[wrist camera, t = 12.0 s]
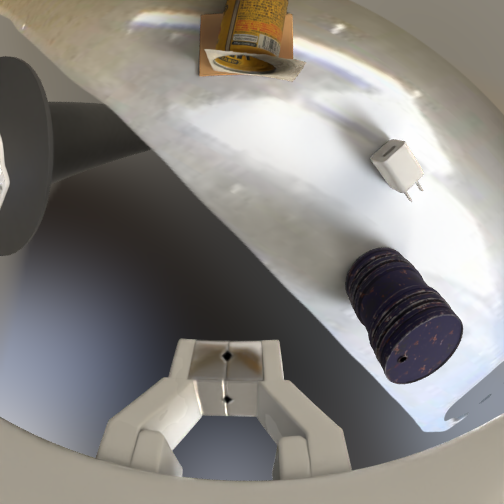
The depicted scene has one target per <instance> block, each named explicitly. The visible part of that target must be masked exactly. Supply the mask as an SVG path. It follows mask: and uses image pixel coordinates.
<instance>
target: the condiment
mask: <svg viewBox="0 0 504 504" xmlns="http://www.w3.org/2000/svg"><path fill="white" fill-rule="evenodd" d="M287 5H288V0H227V2H226V6H225V9H224V14H223V18H222V22H221V27H220V32H219V35H218V40H217V45H216V48H215V50H211V49H204V50H205V52H206V54H207V57H208V59H209V62H210V64H211V66H212V68H213V70H215V71H219V72H228V73H237V74H245V75H256V76H265V77H270V78H277V79H281V80H287V81H291V82H293V81H294V80H295V78H296V77H297V76H298V74H299V73H300V72H301V70H302V69H303V67H304V65H305V64H306V62H303V61H299V60H295V59H285V58H279V52H280V46H281V41H282V37H283V36H282V35H283V28H284V22H285V16H286V11H287Z"/></svg>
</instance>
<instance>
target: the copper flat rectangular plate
mask: <svg viewBox="0 0 504 504" xmlns="http://www.w3.org/2000/svg"><path fill="white" fill-rule="evenodd" d="M223 14H224V13H219V14H206V15H201V25H200V65H199V76H215V75H245V74H237V73H228V72H219V71H215V70H213V68H212V66H211V64H210V62H209V59H208V57H207V54H206V52H205V50H204V49H211V50H215V48H216V45H217V40H218V35H219V32H220V27H221V22H222V18H223ZM282 36H283V37H282V41H281V46H280V52H279V58H285V59H293V24H292V14H286V16H285V22H284V28H283V35H282Z"/></svg>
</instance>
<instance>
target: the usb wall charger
mask: <svg viewBox="0 0 504 504" xmlns="http://www.w3.org/2000/svg"><path fill="white" fill-rule="evenodd" d="M370 160H371V161H372V162H373V164H374V165H375V166H376V168H377V169H378V171H379V172H380V173H381V175H382V176H383V178H384V179H385V180H386V182H387V183H388V185H389V186H390V187H391V188H392V189H394V190H396V191H398V192H400V193H405V195H406V196H407V198H408V199H409V201H411V202H412V200H411V198H410V196H409V194H408V193H407V190H408V189H409V188H410V187H412V186H413V185H414V184H415V183H416V184H417V186H418V188H419V189H420V190H421V191H423V189H422V187H421V185H420V184H419V182H418V180H419V179H420V178H421V177H422V176H423V175H424V172H423V170H422V168H421V167H420V165H419V163H418V162H417V160H416V158H415V157H414V155H413V153H412V152H411V150H410V149H409V147H408V146H407V144H406V142H405V141H401V140H395V139H392V140H389V141H388V142H387V143H386V144H384V145H383V146H382V147H381V148H380V149H379V150H378V151H377V152H376V153H374V154H373V155H372V156H371V158H370Z"/></svg>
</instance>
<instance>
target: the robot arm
mask: <svg viewBox="0 0 504 504" xmlns="http://www.w3.org/2000/svg"><path fill="white" fill-rule="evenodd" d="M9 184H10V180H9V176H8V173H7V170H6V167H5V162H4V149H3V143H2V138H1V135H0V209H1V206H2V203H3V201H4V198H5V195H6V193H7V190H8V188H9ZM201 415H215V416H254V417H255V416H256V417H257V418H258V420H259V421H260V422H261V424H262V425H263V426H264V428H265V429H266V431H267V432H268V433H269V435H271V437H272V438H273V440H274V441H275V442H276V444H277V451H276V456H275V461H274V466H273V471H272V480H269V481H226V480H209V479H198V478H188V477H182V472H183V468H182V467H181V465H180V463H179V462H178V460H177V459H176V457H175V455H174V453H173V452H172V450H173V449H174V448H175V447H176V446H177V445H178V443H179V442H180V441H181V440H182V439H183V438H184V437H185V435H186V434H187V433H188V432H189V431H190V430H191V429H192V427H193V426H194V425H195V424H196V422H197V421H198V420H199V419H200V418H201V417H202V416H201ZM0 504H504V413H503V414H501V415H499V416H498V417H496V418H494V419H493V420H491V421H489V422H487V423H485V424H483V425H482V426H480V427H478V428H475V429H474V430H472V431H470V432H467V433H465V434H463V435H461V436H459V437H456V438H454V439H452V440H450V441H447V442H445V443H443V444H440V445H438V446H435V447H432V448H430V449H427V450H424V451H422V452H419V453H416V454H413V455H410V456H407V457H404V458H401V459H397V460H394V461H391V462H387V463H383V464H379V465H375V466H371V467H367V468H363V469H358V470H353V471H352V469H351V465H350V460H349V456H348V452H347V447H346V443H345V439H344V434H343V430H342V429H341V428H340V427H339V426H338V425H336V424H335V423H334V422H333V421H332V420H331V419H330V418H329V417H328V416H327V415H325V414H324V413H323V412H322V411H321V410H320V409H319V408H318V407H317V406H316V405H315V404H314V403H312V402H311V401H310V400H309V399H308V398H307V397H306V396H305V395H304V394H303V393H302V392H301V391H300V390H299V389H298V388H297V387H296V386H295V385H294V384H292V383H291V382H290V381H289V380H284V375H283V367H282V360H281V351H280V343H279V341H278V340H263V341H262V342H261V341H217V340H199V339H197V340H193V339H180V340H179V342H178V344H177V348H176V351H175V355H174V358H173V362H172V366H171V370H170V373H169V377H168V378H165V377H164V378H162V379H161V380H160V381H158V382H157V383H156V384H155V385H153V386H152V387H151V388H150V389H148V390H147V391H146V392H145V393H143V394H142V395H141V396H140V397H138V398H137V399H136V400H134V401H133V402H132V403H131V404H129V405H128V406H127V407H125V408H124V409H123V410H122V411H120V412H119V413H118V414H116V415H115V416H114V417H112V418H111V419H110V420H109V421H108V423H107V426H106V429H105V432H104V435H103V438H102V440H101V443H100V446H99V449H98V452H97V455H96V458H93V457H90V456H87V455H84V454H81V453H78V452H75V451H73V450H70V449H67V448H65V447H62V446H60V445H57V444H55V443H52V442H50V441H47V440H45V439H43V438H41V437H38V436H36V435H34V434H32V433H30V432H28V431H26V430H24V429H22V428H20V427H18V426H16V425H14V424H12V423H10V422H9V421H7V420H5V419H3V418H1V417H0Z"/></svg>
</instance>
